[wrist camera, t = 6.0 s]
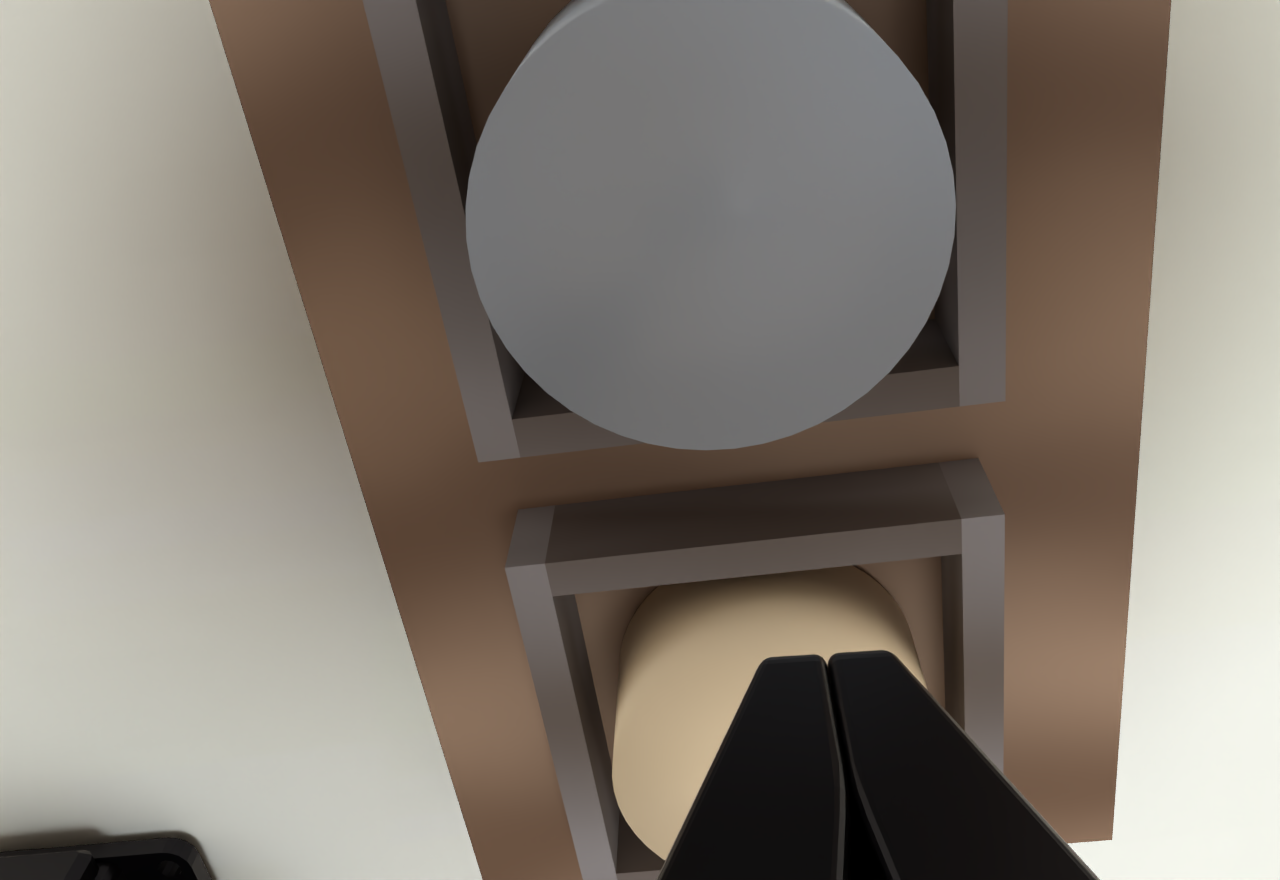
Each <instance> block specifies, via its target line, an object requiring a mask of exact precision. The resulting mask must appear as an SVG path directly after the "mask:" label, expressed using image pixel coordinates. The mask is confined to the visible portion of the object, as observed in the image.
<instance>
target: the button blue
mask: <svg viewBox="0 0 1280 880" xmlns="http://www.w3.org/2000/svg"><path fill="white" fill-rule="evenodd" d="M465 210H466V241H467V247H468V253H469V259H470V265H471V271H472V274H473V277H474V280H475V284H476V287H477V290H478V294H479V297H480V300H481V302H482V304H483V306H484V308H485V311H486V313H487V315H488V317H489V319H490V322H491V324H492V326H493V327H494V329H495V331H496V332H497V334H498V336H499V337H500V339H501V340H502V342H503V344H504V345H505V347H506V348H507V350H508V351H509V353H510V354H511V355H512V356H513V358H514V359H515V360H516V361H517V362H518V364H519V365H520V366H521V367H522V369H523V370H524V371H525V372H526V373H527V374H528V375H529V376H530V377H531V378H532V379H533V380H534V381H535V382H536V383H537V384H538V385H539V386H540V387H541V388H542V389H543V390H544V391H545V392H546V393H548V394H549V395H550V396H552V397H553V398H554V399H556V400H557V401H558V402H560V403H561V404H562V405H564V406H565V407H566V408H568V409H569V410H571V411H572V412H574V413H576V414H578V415H579V416H581V417H583V418H584V419H586V420H588V421H590V422H591V423H593V424H595V425H597V426H600V427H602V428H604V429H607V430H609V431H611V432H614V433H616V434H618V435H621V436H624V437H627V438H631V439H634V440H637V441H641V442H644V443H648V444H653V445H658V446H664V447H670V448H676V449H691V450H721V449H736V448H742V447H748V446H753V445H759V444H764V443H768V442H771V441H775V440H778V439H781V438H785V437H788V436H792V435H794V434H796V433H799V432H801V431H803V430H806V429H808V428H811V427H813V426H815V425H818V424H820V423H821V422H823V421H825V420H827V419H828V418H830V417H832V416H834V415H836V414H837V413H839V412H841V411H843V410H844V409H846V408H847V407H848V406H850V405H851V404H853V403H854V402H855V401H857V400H858V399H859V398H861V397H862V396H863V395H865V394H866V393H868V392H869V391H870V390H871V389H872V388H873V387H874V386H875V385H876V384H877V383H878V382H879V381H881V380H882V379H883V378H884V377H885V376H886V375H887V374H888V373H889V372H890V371H891V370H892V369H893V367H894V366H895V365H896V364H897V363H898V362H899V360H900V359H901V358H902V357H903V356H904V354H905V353H906V352H907V351H908V350H909V348H910V347H911V345H912V344H913V342H914V341H915V339H916V338H917V336H918V334H919V333H920V331H921V330H922V328H923V327H924V325H925V324H926V322H927V320H928V318H929V316H930V313H931V311H932V309H933V307H934V305H935V303H936V301H937V299H938V297H939V294H940V291H941V288H942V285H943V282H944V279H945V276H946V273H947V270H948V267H949V262H950V257H951V252H952V246H953V241H954V235H955V215H956V198H955V187H954V175H953V170H952V165H951V161H950V157H949V152H948V148H947V144H946V140H945V138H944V135H943V133H942V130H941V127H940V125H939V122H938V120H937V117H936V114H935V112H934V110H933V108H932V106H931V105H930V103H929V101H928V99H927V98H926V96H925V94H924V92H923V90H922V89H921V87H920V85H919V83H918V82H917V81H916V79H915V78H914V77H913V75H912V74H911V73H910V72H909V70H908V69H907V68H906V66H905V65H904V64H903V62H902V61H901V60H900V59H899V57H898V56H897V55H896V54H895V53H894V52H893V51H892V49H891V48H890V47H889V46H888V45H887V44H886V43H885V42H884V41H883V40H882V39H881V38H880V36H879V35H878V34H877V33H876V32H875V31H874V30H873V29H872V28H871V27H870V26H869V25H868V23H867V22H866V21H865V20H864V19H863V18H862V17H861V16H860V15H859V14H858V13H857V12H856V11H855V10H854V9H853V8H852V7H851V6H850V5H849V4H848V3H847V2H846V1H845V0H571V1H570V2H569V3H568V4H567V5H566V6H565V7H564V8H563V9H562V10H561V11H560V12H559V13H558V14H557V15H556V16H555V17H554V18H553V19H552V20H551V21H550V23H549V24H548V25H547V27H546V28H545V29H544V30H543V32H542V33H541V34H540V36H539V37H538V38H537V40H536V41H535V42H534V44H533V45H532V47H531V48H530V50H529V51H528V53H527V54H526V56H525V58H524V59H523V61H522V62H521V64H520V65H519V67H518V68H517V70H516V72H515V73H514V75H513V76H512V78H511V79H510V81H509V83H508V84H507V86H506V87H505V89H504V91H503V92H502V94H501V96H500V98H499V99H498V101H497V103H496V105H495V106H494V108H493V110H492V112H491V113H490V115H489V117H488V119H487V122H486V124H485V127H484V129H483V132H482V134H481V137H480V139H479V142H478V144H477V147H476V151H475V155H474V159H473V163H472V167H471V171H470V175H469V181H468V190H467V199H466V209H465Z"/></svg>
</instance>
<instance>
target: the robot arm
mask: <svg viewBox="0 0 1280 880" xmlns="http://www.w3.org/2000/svg"><path fill="white" fill-rule="evenodd" d="M0 880H211V877H210V875H209V873H208V871H207V869H206V867H205V865H204V863H203V861H202V859H201V856H200V854H199V852H198V851H197V850H196V848H195V847H194V846H193V845H191V844H190V843H188V842H187V841H184V840H181V839H178V838H162V839H151V840H139V841H127V842H116V843H104V844H92V845H81V846H69V847H57V848H46V849H34V850H22V851H11V852H0ZM656 880H1100V879H1099V878H1098V877H1097V876H1096V875H1095V874H1094V873H1093V871H1092V870H1091V869H1090V868H1089V867H1088V866H1087V865H1086V864H1085V863H1084V862H1083V861H1082V859H1081V858H1080V857H1079V856H1078V855H1077V854H1076V853H1075V852H1074V851H1073V850H1072V848H1071V847H1070V846H1069V845H1068V844H1067V843H1066V842H1065V841H1064V840H1063V839H1062V837H1061V836H1060V835H1059V834H1058V833H1057V832H1056V831H1055V830H1054V829H1053V828H1052V826H1051V825H1050V824H1049V823H1048V822H1047V821H1046V820H1045V819H1044V818H1043V817H1042V815H1041V814H1040V813H1039V812H1038V811H1037V810H1036V809H1035V808H1034V807H1033V806H1032V805H1031V803H1030V802H1029V801H1028V800H1027V799H1026V798H1025V797H1024V796H1023V795H1022V794H1021V792H1020V791H1019V790H1018V789H1017V788H1016V787H1015V786H1014V785H1013V784H1012V783H1011V781H1010V780H1009V779H1008V778H1007V777H1006V776H1005V775H1004V774H1003V773H1002V772H1001V770H1000V769H999V768H998V767H997V766H996V765H995V764H994V763H993V762H992V761H991V760H990V758H989V757H988V756H987V755H986V754H985V753H984V752H983V751H982V750H981V749H980V747H979V746H978V745H977V744H976V743H975V742H974V741H973V740H972V739H971V738H970V736H969V735H968V734H967V733H966V732H965V731H964V730H963V729H962V728H961V727H960V725H959V724H958V723H957V722H956V721H955V720H954V719H953V718H952V717H951V716H950V714H949V713H948V712H947V711H946V710H945V709H944V708H943V707H942V706H941V705H940V704H939V702H938V701H937V700H936V699H935V698H934V697H933V696H932V695H931V694H930V693H929V691H928V690H927V689H926V688H925V687H924V686H923V685H922V684H921V683H920V682H919V680H918V679H917V678H916V677H915V676H914V675H913V674H912V673H911V672H910V671H909V669H908V668H907V667H906V666H905V665H904V664H903V663H902V662H901V661H900V660H899V659H898V657H897V656H896V655H894V654H893V653H891V652H889V651H885V650H874V651H859V652H843V653H836V654H833V655H832V656H831V657H830V659H829V660H828V664H827V663H826V661H825V660H824V659H823V657H821V656H819V655H815V654H811V655H795V656H780V657H769V658H766V659H765V660H763V661H762V662H761V664H760V665H759V666H758V668H757V670H756V672H755V674H754V676H753V679H752V681H751V683H750V685H749V687H748V689H747V691H746V693H745V695H744V697H743V699H742V702H741V704H740V706H739V708H738V710H737V712H736V714H735V716H734V718H733V720H732V722H731V724H730V727H729V729H728V731H727V733H726V735H725V737H724V739H723V741H722V743H721V745H720V747H719V750H718V752H717V754H716V756H715V758H714V760H713V762H712V764H711V766H710V768H709V770H708V773H707V775H706V777H705V779H704V781H703V783H702V785H701V787H700V789H699V791H698V793H697V796H696V798H695V800H694V802H693V804H692V806H691V808H690V810H689V812H688V814H687V816H686V819H685V821H684V823H683V825H682V827H681V829H680V831H679V833H678V835H677V837H676V839H675V842H674V844H673V846H672V848H671V850H670V852H669V854H668V856H667V858H666V860H665V862H664V865H663V867H662V869H661V871H660V873H659V875H658V877H657V879H656Z"/></svg>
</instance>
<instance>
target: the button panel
mask: <svg viewBox="0 0 1280 880" xmlns="http://www.w3.org/2000/svg"><path fill="white" fill-rule="evenodd" d="M570 1H571V0H209V2H210V5H211V8H212V12H213V15H214V18H215V21H216V24H217V28H218V31H219V34H220V37H221V40H222V44H223V47H224V50H225V53H226V57H227V60H228V63H229V66H230V69H231V73H232V76H233V79H234V82H235V85H236V89H237V92H238V95H239V98H240V101H241V105H242V108H243V111H244V114H245V118H246V121H247V124H248V127H249V130H250V134H251V137H252V140H253V143H254V146H255V150H256V153H257V156H258V159H259V162H260V166H261V169H262V172H263V175H264V179H265V182H266V185H267V188H268V191H269V195H270V198H271V201H272V204H273V207H274V211H275V214H276V217H277V220H278V223H279V227H280V230H281V233H282V236H283V240H284V243H285V246H286V249H287V252H288V256H289V259H290V262H291V265H292V268H293V272H294V275H295V278H296V281H297V284H298V288H299V291H300V294H301V297H302V301H303V304H304V307H305V310H306V313H307V317H308V320H309V323H310V326H311V329H312V333H313V336H314V339H315V342H316V346H317V349H318V352H319V355H320V358H321V362H322V365H323V368H324V371H325V374H326V378H327V381H328V384H329V387H330V390H331V394H332V397H333V400H334V403H335V407H336V410H337V413H338V416H339V419H340V423H341V426H342V429H343V432H344V435H345V439H346V442H347V445H348V448H349V451H350V455H351V458H352V461H353V464H354V468H355V471H356V474H357V477H358V480H359V484H360V487H361V490H362V493H363V496H364V500H365V503H366V506H367V509H368V512H369V516H370V519H371V522H372V525H373V529H374V532H375V535H376V538H377V541H378V545H379V548H380V551H381V554H382V557H383V561H384V564H385V567H386V570H387V573H388V577H389V580H390V583H391V586H392V590H393V593H394V596H395V599H396V602H397V606H398V609H399V612H400V615H401V618H402V622H403V625H404V628H405V631H406V634H407V638H408V641H409V644H410V647H411V651H412V654H413V657H414V660H415V663H416V667H417V670H418V673H419V676H420V679H421V683H422V686H423V689H424V692H425V696H426V699H427V702H428V705H429V708H430V712H431V715H432V718H433V721H434V724H435V728H436V731H437V734H438V737H439V740H440V744H441V747H442V750H443V753H444V757H445V760H446V763H447V766H448V769H449V773H450V776H451V779H452V782H453V785H454V789H455V792H456V795H457V798H458V801H459V805H460V808H461V811H462V814H463V818H464V821H465V824H466V827H467V830H468V834H469V837H470V840H471V843H472V846H473V850H474V853H475V856H476V859H477V862H478V866H479V869H480V872H481V875H482V879H483V880H656V879H657V877H658V875H659V873H660V871H661V869H662V867H663V865H664V862H665V860H664V859H662V858H661V857H659V856H658V855H657V854H656V853H654V852H653V851H652V850H651V849H649V848H648V847H647V846H646V845H645V844H644V843H643V842H642V841H641V840H640V839H639V838H638V837H637V836H636V835H635V833H634V832H633V830H632V829H631V828H630V826H629V825H628V823H627V822H626V820H625V818H624V816H623V814H622V812H621V810H620V808H619V806H618V803H617V800H616V797H615V793H614V788H613V780H612V765H613V749H614V735H615V720H616V706H617V692H618V677H619V663H620V651H621V647H622V642H623V638H624V635H625V633H626V630H627V628H628V625H629V623H630V621H631V619H632V618H633V616H634V614H635V612H636V611H637V609H638V608H639V607H640V605H641V604H642V603H643V602H644V600H645V599H646V598H647V597H648V595H649V594H651V593H652V592H653V591H654V590H655V589H656V588H657V587H658V586H659V585H668V584H678V583H687V582H697V581H707V580H716V579H726V578H735V577H745V576H755V575H764V574H774V573H784V572H793V571H803V570H812V569H822V568H832V567H841V566H851V565H852V566H854V567H856V568H858V569H859V570H861V571H863V572H864V573H866V574H867V575H869V576H870V577H871V578H873V579H874V580H875V581H876V582H878V583H879V584H880V585H881V586H882V587H883V588H884V589H885V590H886V591H887V592H888V593H889V594H890V595H891V596H892V597H893V599H894V600H895V602H896V603H897V604H898V606H899V607H900V609H901V610H902V612H903V614H904V616H905V618H906V620H907V622H908V624H909V627H910V631H911V634H912V637H913V640H914V644H915V647H916V651H917V654H918V658H919V661H920V665H921V668H922V672H923V675H924V679H925V682H926V686H927V689H928V691H929V693H930V694H931V695H932V696H933V697H934V698H935V699H936V700H937V701H938V702H939V704H940V705H941V706H942V707H943V708H944V709H945V710H946V711H947V712H948V713H949V714H950V716H951V717H952V718H953V719H954V720H955V721H956V722H957V723H958V724H959V725H960V727H961V728H962V729H963V730H964V731H965V732H966V733H967V734H968V735H969V736H970V738H971V739H972V740H973V741H974V742H975V743H976V744H977V745H978V746H979V747H980V749H981V750H982V751H983V752H984V753H985V754H986V755H987V756H988V757H989V758H990V760H991V761H992V762H993V763H994V764H995V765H996V766H997V767H998V768H999V769H1000V770H1001V772H1002V773H1003V774H1004V775H1005V776H1006V777H1007V778H1008V779H1009V780H1010V781H1011V783H1012V784H1013V785H1014V786H1015V787H1016V788H1017V789H1018V790H1019V791H1020V792H1021V794H1022V795H1023V796H1024V797H1025V798H1026V799H1027V800H1028V801H1029V802H1030V803H1031V805H1032V806H1033V807H1034V808H1035V809H1036V810H1037V811H1038V812H1039V813H1040V814H1041V815H1042V817H1043V818H1044V819H1045V820H1046V821H1047V822H1048V823H1049V824H1050V825H1051V826H1052V828H1053V829H1054V830H1055V831H1056V832H1057V833H1058V834H1059V835H1060V836H1061V837H1062V839H1063V840H1064V841H1065V842H1066V843H1077V842H1090V841H1102V840H1112V833H1113V819H1114V805H1115V790H1116V776H1117V762H1118V748H1119V734H1120V719H1121V705H1122V691H1123V677H1124V663H1125V648H1126V634H1127V620H1128V606H1129V592H1130V577H1131V563H1132V549H1133V535H1134V521H1135V507H1136V492H1137V478H1138V464H1139V450H1140V436H1141V421H1142V407H1143V393H1144V379H1145V365H1146V350H1147V336H1148V322H1149V308H1150V294H1151V279H1152V265H1153V251H1154V237H1155V223H1156V208H1157V194H1158V180H1159V166H1160V152H1161V137H1162V123H1163V109H1164V95H1165V81H1166V67H1167V52H1168V38H1169V24H1170V10H1171V0H845V1H846V2H847V3H848V4H849V5H850V6H851V7H852V8H853V9H854V10H855V11H856V12H857V13H858V14H859V15H860V16H861V17H862V18H863V19H864V20H865V21H866V22H867V23H868V25H869V26H870V27H871V28H872V29H873V30H874V31H875V32H876V33H877V34H878V35H879V36H880V38H881V39H882V40H883V41H884V42H885V43H886V44H887V45H888V46H889V47H890V48H891V49H892V51H893V52H894V53H895V54H896V55H897V56H898V57H899V59H900V60H901V61H902V62H903V64H904V65H905V66H906V68H907V69H908V70H909V72H910V73H911V74H912V75H913V77H914V78H915V79H916V81H917V82H918V83H919V85H920V87H921V89H922V90H923V92H924V94H925V96H926V98H927V99H928V101H929V103H930V105H931V106H932V108H933V110H934V112H935V114H936V117H937V120H938V122H939V125H940V127H941V130H942V133H943V135H944V138H945V140H946V144H947V148H948V152H949V157H950V161H951V165H952V170H953V175H954V187H955V198H956V215H955V235H954V241H953V246H952V252H951V257H950V262H949V267H948V270H947V273H946V276H945V279H944V282H943V285H942V288H941V291H940V294H939V297H938V299H937V301H936V303H935V305H934V307H933V309H932V311H931V313H930V316H929V318H928V320H927V322H926V324H925V325H924V327H923V328H922V330H921V331H920V333H919V334H918V336H917V338H916V339H915V341H914V342H913V344H912V345H911V347H910V348H909V350H908V351H907V352H906V353H905V354H904V356H903V357H902V358H901V359H900V360H899V362H898V363H897V364H896V365H895V366H894V367H893V369H892V370H891V371H890V372H889V373H888V374H887V375H886V376H885V377H884V378H883V379H882V380H881V381H879V382H878V383H877V384H876V385H875V386H874V387H873V388H872V389H871V390H870V391H869V392H868V393H866V394H865V395H863V396H862V397H861V398H859V399H858V400H857V401H855V402H854V403H853V404H851V405H850V406H848V407H847V408H846V409H844V410H843V411H841V412H839V413H837V414H836V415H834V416H832V417H830V418H828V419H827V420H825V421H823V422H821V423H820V424H818V425H815V426H813V427H811V428H808V429H806V430H803V431H801V432H799V433H796V434H794V435H792V436H788V437H785V438H781V439H778V440H775V441H771V442H768V443H764V444H759V445H753V446H748V447H742V448H736V449H721V450H691V449H676V448H670V447H664V446H658V445H653V444H648V443H644V442H641V441H637V440H634V439H631V438H627V437H624V436H621V435H618V434H616V433H614V432H611V431H609V430H607V429H604V428H602V427H600V426H597V425H595V424H593V423H591V422H590V421H588V420H586V419H584V418H583V417H581V416H579V415H578V414H576V413H574V412H572V411H571V410H569V409H568V408H566V407H565V406H564V405H562V404H561V403H560V402H558V401H557V400H556V399H554V398H553V397H552V396H550V395H549V394H548V393H546V392H545V391H544V390H543V389H542V388H541V387H540V386H539V385H538V384H537V383H536V382H535V381H534V380H533V379H532V378H531V377H530V376H529V375H528V374H527V373H526V372H525V371H524V370H523V369H522V367H521V366H520V365H519V364H518V362H517V361H516V360H515V359H514V358H513V356H512V355H511V354H510V353H509V351H508V350H507V348H506V347H505V345H504V344H503V342H502V340H501V339H500V337H499V336H498V334H497V332H496V331H495V329H494V327H493V326H492V324H491V322H490V319H489V317H488V315H487V313H486V311H485V308H484V306H483V304H482V302H481V300H480V297H479V294H478V290H477V287H476V284H475V280H474V277H473V274H472V271H471V265H470V259H469V253H468V247H467V241H466V210H465V209H466V199H467V190H468V181H469V175H470V171H471V167H472V163H473V159H474V155H475V151H476V147H477V144H478V142H479V139H480V137H481V134H482V132H483V129H484V127H485V124H486V122H487V119H488V117H489V115H490V113H491V112H492V110H493V108H494V106H495V105H496V103H497V101H498V99H499V98H500V96H501V94H502V92H503V91H504V89H505V87H506V86H507V84H508V83H509V81H510V79H511V78H512V76H513V75H514V73H515V72H516V70H517V68H518V67H519V65H520V64H521V62H522V61H523V59H524V58H525V56H526V54H527V53H528V51H529V50H530V48H531V47H532V45H533V44H534V42H535V41H536V40H537V38H538V37H539V36H540V34H541V33H542V32H543V30H544V29H545V28H546V27H547V25H548V24H549V23H550V21H551V20H552V19H553V18H554V17H555V16H556V15H557V14H558V13H559V12H560V11H561V10H562V9H563V8H564V7H565V6H566V5H567V4H568V3H569V2H570Z"/></svg>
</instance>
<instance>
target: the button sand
mask: <svg viewBox="0 0 1280 880" xmlns="http://www.w3.org/2000/svg"><path fill="white" fill-rule="evenodd" d="M874 650H885V651H889V652H891V653H893V654H894V655H896V656H897V657H898V659H899V660H900V661H901V662H902V663H903V664H904V665H905V666H906V667H907V668H908V669H909V671H910V672H911V673H912V674H913V675H914V676H915V677H916V678H917V679H918V680H919V682H920V683H921V684H922V685H923V686H924V687H925V688H926V689H927V686H926V682H925V679H924V675H923V672H922V668H921V665H920V661H919V658H918V654H917V651H916V647H915V644H914V640H913V637H912V634H911V631H910V627H909V624H908V622H907V620H906V618H905V616H904V614H903V612H902V610H901V609H900V607H899V606H898V604H897V603H896V602H895V600H894V599H893V597H892V596H891V595H890V594H889V593H888V592H887V591H886V590H885V589H884V588H883V587H882V586H881V585H880V584H879V583H878V582H876V581H875V580H874V579H873V578H871V577H870V576H869V575H867V574H866V573H864V572H863V571H861V570H859V569H858V568H856V567H854V566H852V565H851V566H841V567H832V568H822V569H812V570H803V571H793V572H784V573H774V574H764V575H755V576H745V577H735V578H726V579H716V580H707V581H697V582H687V583H678V584H668V585H659V586H658V587H657V588H656V589H655V590H654V591H653V592H652V593H651V594H649V595H648V597H647V598H646V599H645V600H644V602H643V603H642V604H641V605H640V607H639V608H638V609H637V611H636V612H635V614H634V616H633V618H632V619H631V621H630V623H629V625H628V628H627V630H626V633H625V635H624V638H623V642H622V647H621V651H620V663H619V677H618V692H617V706H616V720H615V735H614V749H613V765H612V780H613V788H614V793H615V797H616V800H617V803H618V806H619V808H620V810H621V812H622V814H623V816H624V818H625V820H626V822H627V823H628V825H629V826H630V828H631V829H632V830H633V832H634V833H635V835H636V836H637V837H638V838H639V839H640V840H641V841H642V842H643V843H644V844H645V845H646V846H647V847H648V848H649V849H651V850H652V851H653V852H654V853H656V854H657V855H658V856H659V857H661V858H662V859H664V860H666V858H667V856H668V854H669V852H670V850H671V848H672V846H673V844H674V842H675V839H676V837H677V835H678V833H679V831H680V829H681V827H682V825H683V823H684V821H685V819H686V816H687V814H688V812H689V810H690V808H691V806H692V804H693V802H694V800H695V798H696V796H697V793H698V791H699V789H700V787H701V785H702V783H703V781H704V779H705V777H706V775H707V773H708V770H709V768H710V766H711V764H712V762H713V760H714V758H715V756H716V754H717V752H718V750H719V747H720V745H721V743H722V741H723V739H724V737H725V735H726V733H727V731H728V729H729V727H730V724H731V722H732V720H733V718H734V716H735V714H736V712H737V710H738V708H739V706H740V704H741V702H742V699H743V697H744V695H745V693H746V691H747V689H748V687H749V685H750V683H751V681H752V679H753V676H754V674H755V672H756V670H757V668H758V666H759V665H760V664H761V662H762V661H763V660H765V659H766V658H769V657H780V656H795V655H811V654H815V655H819V656H821V657H823V659H824V660H825V661H826V663H827V664H828V660H829V659H830V657H831V656H832V655H833V654H836V653H843V652H859V651H874ZM927 690H928V689H927Z"/></svg>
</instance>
